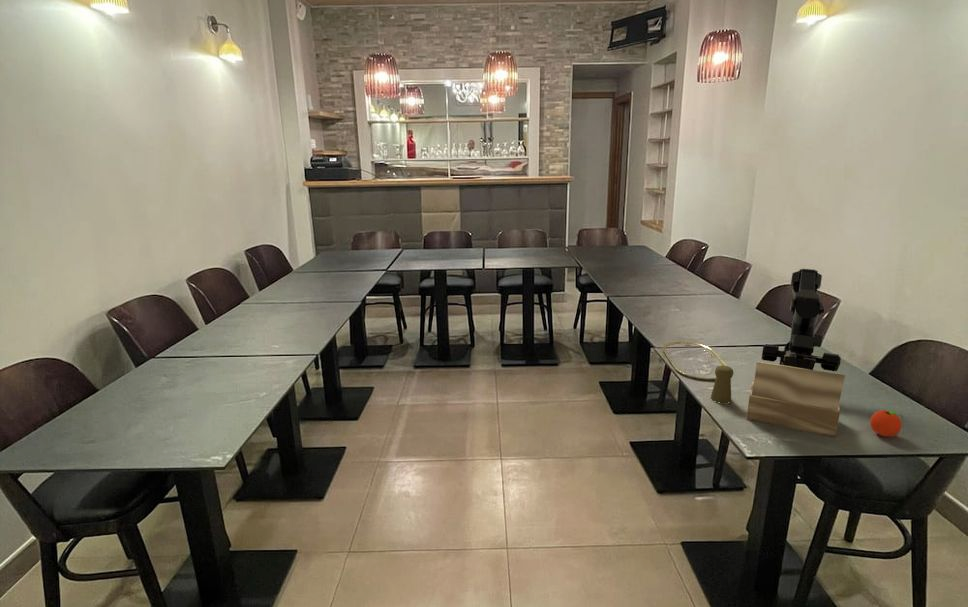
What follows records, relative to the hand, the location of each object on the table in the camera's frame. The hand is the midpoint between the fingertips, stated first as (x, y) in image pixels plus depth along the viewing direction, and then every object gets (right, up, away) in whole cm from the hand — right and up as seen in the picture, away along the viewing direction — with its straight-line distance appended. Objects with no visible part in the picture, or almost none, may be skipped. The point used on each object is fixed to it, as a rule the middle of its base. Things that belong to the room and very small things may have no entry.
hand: (796, 385), depth 147 cm
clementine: (+24, -14, 0) cm, 28 cm away
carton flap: (0, 0, 0) cm, 0 cm away
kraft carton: (+3, -11, +9) cm, 15 cm away
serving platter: (-8, +1, +51) cm, 52 cm away
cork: (-11, -8, +22) cm, 26 cm away
